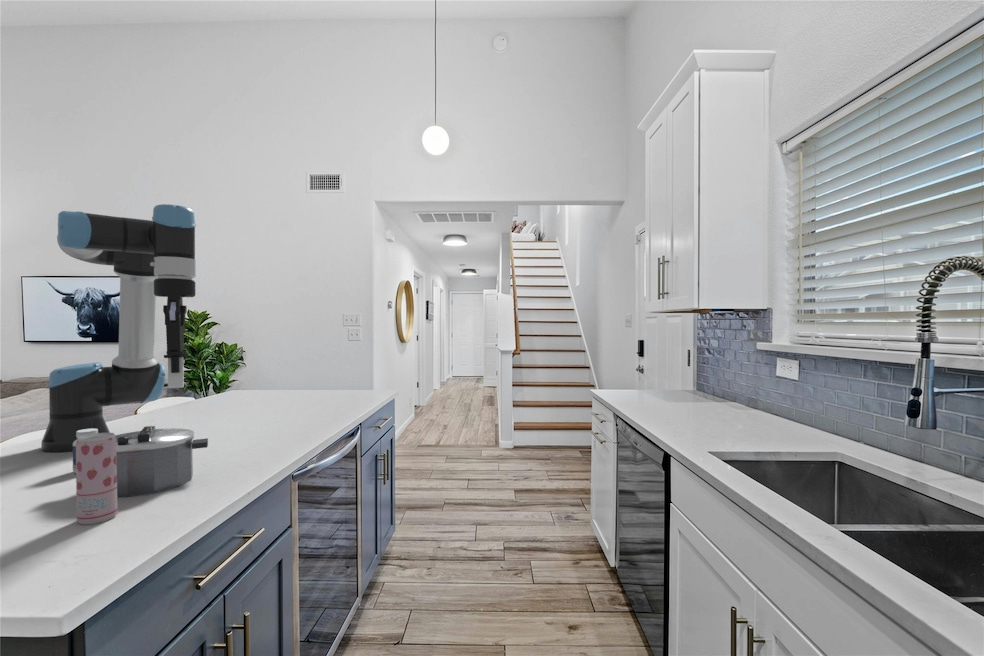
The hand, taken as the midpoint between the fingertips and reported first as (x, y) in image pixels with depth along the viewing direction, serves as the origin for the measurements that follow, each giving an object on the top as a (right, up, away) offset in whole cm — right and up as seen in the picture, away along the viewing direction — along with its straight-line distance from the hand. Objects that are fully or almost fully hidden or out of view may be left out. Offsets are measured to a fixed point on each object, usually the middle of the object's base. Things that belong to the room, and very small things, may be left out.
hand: (176, 387), depth 105 cm
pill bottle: (-28, -22, +11) cm, 37 cm away
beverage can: (-3, -22, -18) cm, 28 cm away
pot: (-7, -21, +2) cm, 23 cm away
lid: (-7, -12, +2) cm, 14 cm away
